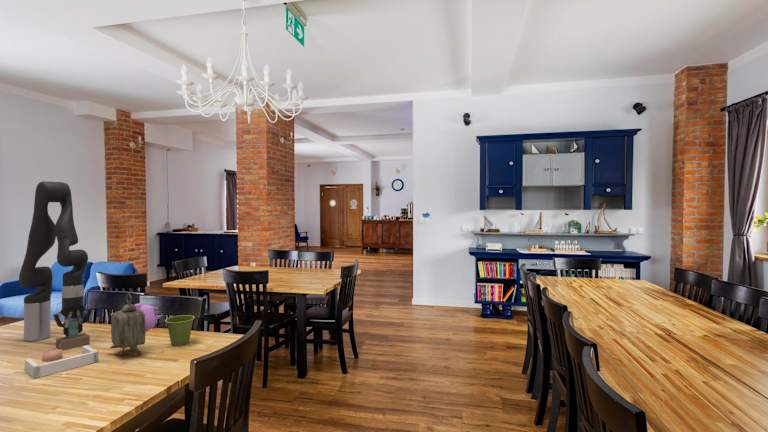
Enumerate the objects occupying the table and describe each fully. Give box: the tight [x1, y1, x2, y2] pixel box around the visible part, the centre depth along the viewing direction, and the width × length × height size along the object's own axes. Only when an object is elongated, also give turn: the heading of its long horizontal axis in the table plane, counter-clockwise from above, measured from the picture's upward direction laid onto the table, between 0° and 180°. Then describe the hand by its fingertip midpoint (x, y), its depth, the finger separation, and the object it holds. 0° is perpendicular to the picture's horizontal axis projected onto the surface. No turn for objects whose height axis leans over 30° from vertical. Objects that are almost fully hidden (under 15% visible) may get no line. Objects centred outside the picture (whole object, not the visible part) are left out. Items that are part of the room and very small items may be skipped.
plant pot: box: [164, 314, 196, 347], centre depth 172 cm, size 12×12×11 cm
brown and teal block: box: [55, 318, 91, 352], centre depth 168 cm, size 7×10×11 cm
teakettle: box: [110, 303, 162, 330], centre depth 195 cm, size 17×17×12 cm
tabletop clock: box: [110, 292, 147, 356], centre depth 159 cm, size 14×9×25 cm, turn 47°
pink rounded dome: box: [41, 348, 63, 363], centre depth 153 cm, size 6×6×3 cm
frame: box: [24, 345, 100, 379], centre depth 146 cm, size 12×19×4 cm, turn 145°
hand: (72, 334), depth 168 cm, fingers open, 3 cm apart
